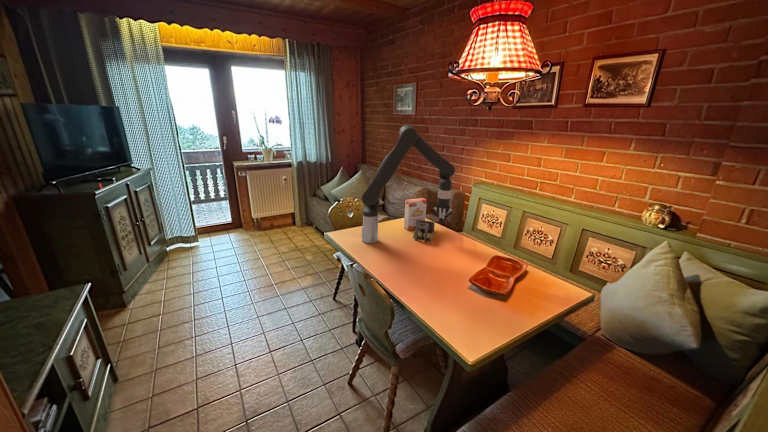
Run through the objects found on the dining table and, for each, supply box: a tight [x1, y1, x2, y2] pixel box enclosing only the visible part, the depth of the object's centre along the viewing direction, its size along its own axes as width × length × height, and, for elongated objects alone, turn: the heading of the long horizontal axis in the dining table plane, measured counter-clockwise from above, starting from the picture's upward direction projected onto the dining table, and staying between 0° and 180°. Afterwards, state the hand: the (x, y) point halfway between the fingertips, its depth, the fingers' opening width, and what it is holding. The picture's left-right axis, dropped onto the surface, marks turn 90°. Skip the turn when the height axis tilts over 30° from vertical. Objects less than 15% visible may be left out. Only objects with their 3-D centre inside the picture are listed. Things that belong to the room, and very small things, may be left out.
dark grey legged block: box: [414, 220, 436, 243], centre depth 190 cm, size 12×12×10 cm
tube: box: [412, 229, 435, 242], centre depth 191 cm, size 12×5×5 cm, turn 66°
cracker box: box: [403, 197, 428, 231], centre depth 205 cm, size 14×6×21 cm, turn 115°
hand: (441, 223), depth 184 cm, fingers closed
